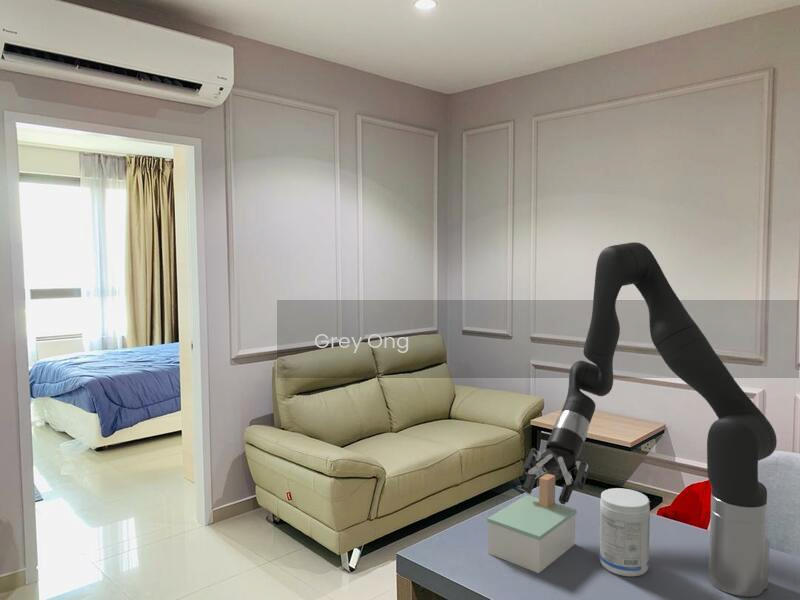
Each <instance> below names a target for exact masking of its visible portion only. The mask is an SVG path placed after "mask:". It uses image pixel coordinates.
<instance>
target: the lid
mask: <svg viewBox="0 0 800 600" xmlns="http://www.w3.org/2000/svg"><path fill="white" fill-rule="evenodd" d="M538 478H539V479H538V480H539V482H538V483H539V484H538V485H539V487H538V488H539V489H538V493H539V494H538V497H536V496H532V495H530V494H525V495H524V496H522V497H520V498H518V500H515V501H514V502H512V503H510V504H509V505H508V506H506V507H504V508H502V509H500V510H499V511H497V512H496V513H494V514H492V515H490V516H489V517H487V519H486V520H487V521H486V522H487V523H488V524H489V523H492V524H494V525H497V526H500V527H503V528H506V529H509V530H511V531H514V532H517V533H520V534H523V535H526V536H528V537H531V538H534V539H537V540H541V539H542V538H544V537H545V536H546V535H548V534H549V533H550V532H552V531H553V530H554V529H556V528H557V527H559V526H560V525H561V524H563V523H564V522H565V521H567V520H568V519H570V518H571V517H572V516H574V515H575V516H576V515H577V513H578V510H577V509H576V508H572V507H569V506H566V505H563V504H558V503H556V474H549V473H546V474H544V475H541V476H539V477H538Z"/></svg>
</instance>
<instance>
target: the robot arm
mask: <svg viewBox="0 0 800 600" xmlns="http://www.w3.org/2000/svg"><path fill="white" fill-rule="evenodd" d="M629 285H633V286H634V287H636V289H637V290H638V292H639V293H640V294H641V296H642V298H643V299H644V301H645V303H646V305H647V309H648V316H649V332H650V338H651V341H652V343H653V345H654V347H655V349H656V350H657V352H658V353H659V355H660V357H661V358H662V359H663V361H664V363H665V364H666V365H667V367H668V368H669V369H670V370H671V371H672V372H673V373H674V374H675V375H676V376H677V377H678V378H679V379H680V380H682V381H683V382H684V383H685V384H687V385H688V386H689V387H691V388H692V389H693V390H694V391H696V392H697V393H698V394H699V395H700V396H701V397H702V398H703V399H704V400H705V401H706V403H708V405H709V406H710V407H711V409H712V410H713V412H714V413H715V415H716V417H717V420H715V421H713V423H712V424H711V425H710V427H709V430H708V433H707V437H706V439H707V440H706V462H707V463H706V465H707V466H706V467H707V468H706V469H707V477H708V481H709V483H710V487H711V491H710V492H711V495H710V523H709V524H710V525H709V526H710V527H709V551H708V552H709V554H708V580H709V582H710V583H711V585H713V586H714V587H716V588H718V589H719V590H721V591H723V592H725V593H728V594H730V595H735V596H739V597H746V598H747V597H757V596H759V595H762V593H763V591H764V590H768V587H769V586H768V585H769V584H768V582H769V562H770V560H769V559H770V540H769V539H768V538H766V530H767V529H766V528H767V504H768V490H767V488H766V486H765V485H764V484H763V483H762V482H760V481H759V461H762V460H763V459H766V458H768V457H770V456H771V455H772V454H773V453H774V452H775V451H776V448H777V444H778V443H777V441H778V440H777V434H776V432H775V429H774V427H773V426H772V424H771V422H770V421H769V420H768V418H767V417H766V416H765V415H764V413H763V412H762V411H761V410H760V409H759V408H758V407H757V405H756V404H755V403H754V402H753V401H752V400H751V398H750V397H749V396H748V394H746V393H745V391H744V390H743V389H742V388H741V387H740V385H739V384H738V382H737V381H736V380H735V378H734V377H733V376H732V374H731V373H730V371H729V370H728V368H727V367H726V365H725V364H724V362H723V361H722V360H721V358H720V357H719V356H718V354H717V352H716V351H715V349H713V346H712V345H711V344H710V341H708V339H707V337H706V336H705V334H704V333H703V332H702V330H701V328H700V327H699V326H698V325H697V323H696V322H695V320H694V319H693V318H692V317H691V315H690V314H689V312H688V311H687V309H686V307H685V306H684V304H683V303H682V302H681V301H680V299H679V297H678V295H677V293H676V292H675V291H674V289H673V288H672V286H671V284H670V282H669V281H668V279H667V277H666V275H665V273H664V272H663V270H662V268H661V266H660V264H659V262H658V260H657V259H656V257H655V256H654V254H653V252H652V251H651V250H650V249H649V248H648V247H647V246H646V245H645V244H643V243H642V242H641V243H640V242H635V241H634V242H633V241H632V242H628V243H627V242H626V243H619V244H614V245H610V246H607V247H605V248H603V250H601V251H600V253H599V255H598V257H597V260H596V267H595V276H594V288H593V300H592V310H591V311H592V312H591V319H590V324H589V328H588V332H587V335H586V339H585V342H584V345H583V352H582V353H583V355H584V357H585V358H586V359H587V360H588V361H590V362H591V363H590V362H588V361H585V360H578V361H576V362H574V363H573V364H572V365H571V367H570V369H569V375H568V376H569V377H568V390H567V394H566V398H565V401H564V404H563V407H562V408H561V411H560V414H559V415H558V417H557V418H556V421H555V423H554V426H553V428H552V430H551V432H550V436H548V437H549V438H548V439H547V443H546V446H545V449H544V450H543V451H538V450H537V449H536V448H535V447H532V448H531V449H530V450H529V453H528V455H527V457H526V458H525V461H524V463H523V465H522V470H523V472H524V474H525V475H527V476H526V479H525V482H524V484H523V489H524V491H525V493H526V494H527V495H531V494H532V492H533V489H534V486H535V485H536V482H537V480H536V479H538V478H540V477H542V476H544V475H546V474H551V475H555V476H558V477H561V478H562V476H563V478H564V481H565V484H563V487H562V488H561V492H560V495H559V498H558V501H559V503H560V505H563V506H566V505H565V504H566V503H567V504H568V502H569V501H570V498H571V495H572V493H573V490H576V489H577V490H580V491H582V490H583V489H584V486H585V483H586V480H587V477H588V473H589V470H590V466H589V465H588V463H587V462H586V460H585V459H582V460H581V461H580V460H578V458H579V456H580V454H581V451H582V449H583V446H584V444H585V443H584V442H585V440H587V439H586V438H587V435H588V433H589V427H590V424H591V422H592V419H593V416H594V413H595V410H596V402H595V401H594V400H593V399H592V397H590V396H588V395H587V394H585V393H584V392H586V393H590V394H592V395H594V396H598V397H604V396H607V395H608V394H609V393H610V392H611V391H612V389H613V386H614V368H613V363H614V356H615V352H616V349H617V346H618V342H619V338H620V334H621V326H620V321H619V318H618V314H617V309H616V305H617V304H616V303H617V298H618V296H619V293H620V291H621V289H622V287H624V286H629ZM582 391H584V392H582ZM540 459H541V460H540ZM538 461H539V462H538ZM574 469H577V472H576V476H575V480H573V477H572V474H571V471H573V470H574Z"/></svg>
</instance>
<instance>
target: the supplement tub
mask: <svg viewBox="0 0 800 600" xmlns="http://www.w3.org/2000/svg"><path fill="white" fill-rule="evenodd" d="M599 500H600V503H599V562H600V564H601V565H602V567H603V568H604V569H606V570H607V571H609V572H610V573H612V574H614V575H619V576H621V577H622V576H623V577H639V576H642V575H644V574H646V572H647V571H648V569H649V564H650V525H651V523H650V518H651V509H650V508H651V507H650V499H649V498H648V496H647V495H645V494H643V492H639V491H637V490H633V489H631V488H630V489H629V488H621V487H619V488H618V487H615V488H613V487H612V488H608V489H605V490H603V491H602V492H601V493H600V499H599Z"/></svg>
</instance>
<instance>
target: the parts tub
mask: <svg viewBox="0 0 800 600" xmlns="http://www.w3.org/2000/svg"><path fill="white" fill-rule="evenodd" d="M575 543H576V514H575V515H574V516H572V517H571V518H570V519H568V520H567V521H565V522H564V523H563V524H561V525H560V526H559V527H557V528H556V529H554V530H553V531H552V532H550V533H549V534H548V535H546V536H545V537H544V538H542V539H541V540H537V539H534V538H531V537H528V536H526V535H523V534H520V533H517V532H514V531H511V530H509V529H506V528H503V527H500V526H497V525H494V524H492V523H489V522H488V554H489V555H491V556H494V557H496V558H498V559H502V560H505V561H506V562H509V563H512V564H515V565H517V566H520V567H522V568H525V569H527V570H529V571H532V572H534V573H537V574H540V573H541V572H542V571H544V570H545V569H546V568H548V566H550V565H551V564H552V563H553V562H555V561H556V560H557V559H558V558H560V557H561V556H562V555H564V554H565V553H566V552H567V551H569V550H570V548H571V549H572V547H573V546H574V545H576V544H575Z"/></svg>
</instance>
